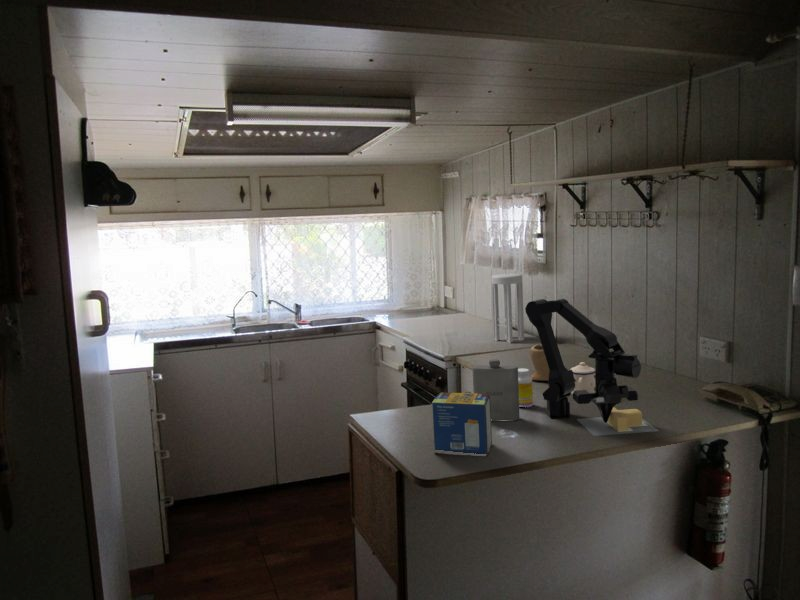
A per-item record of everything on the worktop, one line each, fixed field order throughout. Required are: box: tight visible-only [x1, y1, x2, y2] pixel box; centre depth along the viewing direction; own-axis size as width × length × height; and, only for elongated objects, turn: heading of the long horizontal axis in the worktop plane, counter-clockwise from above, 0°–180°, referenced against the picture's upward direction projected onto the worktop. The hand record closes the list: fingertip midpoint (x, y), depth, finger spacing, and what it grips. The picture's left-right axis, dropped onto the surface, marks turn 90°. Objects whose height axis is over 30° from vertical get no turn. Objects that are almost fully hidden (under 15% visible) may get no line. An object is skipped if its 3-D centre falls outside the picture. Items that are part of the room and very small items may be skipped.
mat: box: [576, 416, 660, 437], centre depth 197 cm, size 20×16×1 cm
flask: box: [472, 358, 520, 421], centre depth 209 cm, size 15×6×20 cm, turn 74°
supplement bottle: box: [518, 367, 534, 409], centre depth 221 cm, size 7×7×13 cm
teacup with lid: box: [569, 361, 595, 395], centre depth 231 cm, size 12×9×12 cm
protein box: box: [431, 392, 493, 454], centre depth 183 cm, size 10×15×16 cm
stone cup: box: [529, 343, 549, 382], centre depth 252 cm, size 15×12×15 cm
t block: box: [607, 406, 643, 431], centre depth 196 cm, size 9×11×4 cm
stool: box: [490, 273, 525, 344], centre depth 334 cm, size 16×16×35 cm
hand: (605, 422), depth 196 cm, fingers closed
